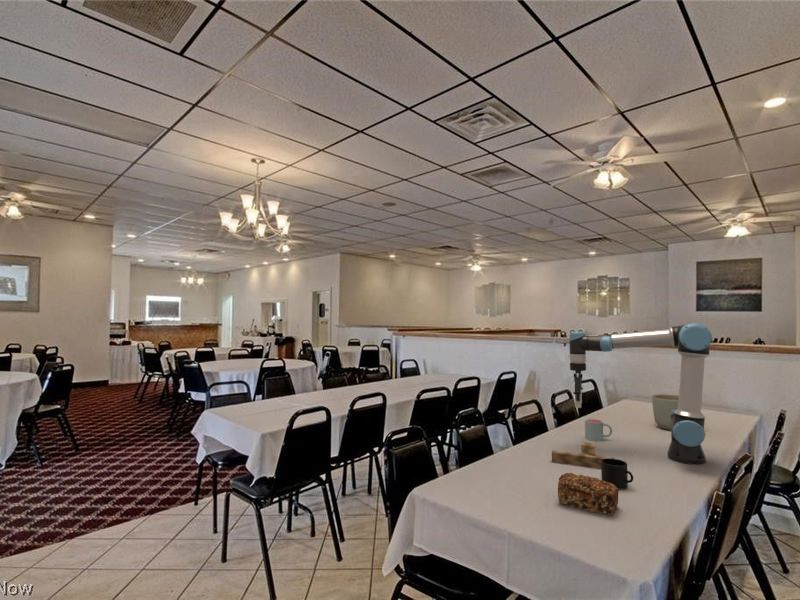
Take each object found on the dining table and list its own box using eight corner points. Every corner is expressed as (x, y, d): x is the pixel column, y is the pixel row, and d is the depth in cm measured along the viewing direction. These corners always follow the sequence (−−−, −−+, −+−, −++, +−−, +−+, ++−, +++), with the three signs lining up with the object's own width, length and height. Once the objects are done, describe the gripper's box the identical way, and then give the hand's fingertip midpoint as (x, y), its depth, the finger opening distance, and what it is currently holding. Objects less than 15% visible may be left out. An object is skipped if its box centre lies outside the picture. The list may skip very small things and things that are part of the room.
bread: (557, 504, 155) (556, 476, 156) (565, 494, 164) (565, 468, 164) (614, 518, 144) (613, 488, 145) (619, 507, 153) (619, 478, 153)
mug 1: (585, 440, 236) (585, 422, 237) (584, 436, 245) (584, 418, 245) (613, 443, 231) (612, 424, 232) (611, 438, 240) (611, 420, 240)
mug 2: (627, 493, 165) (627, 469, 165) (597, 484, 174) (596, 461, 174) (638, 487, 171) (638, 464, 171) (608, 478, 180) (608, 456, 180)
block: (595, 455, 210) (595, 443, 211) (595, 459, 205) (594, 446, 205) (581, 454, 213) (581, 441, 213) (581, 457, 208) (581, 444, 208)
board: (614, 468, 192) (613, 457, 192) (614, 470, 189) (614, 459, 190) (552, 460, 203) (552, 450, 204) (551, 462, 201) (551, 452, 201)
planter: (692, 427, 264) (692, 396, 265) (694, 435, 247) (693, 401, 248) (653, 423, 276) (652, 393, 276) (652, 430, 258) (651, 398, 259)
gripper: (571, 359, 230) (571, 400, 229) (568, 364, 207) (569, 409, 206) (586, 360, 227) (587, 401, 226) (585, 365, 204) (586, 410, 203)
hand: (578, 405), depth 216 cm, fingers open, 13 cm apart
